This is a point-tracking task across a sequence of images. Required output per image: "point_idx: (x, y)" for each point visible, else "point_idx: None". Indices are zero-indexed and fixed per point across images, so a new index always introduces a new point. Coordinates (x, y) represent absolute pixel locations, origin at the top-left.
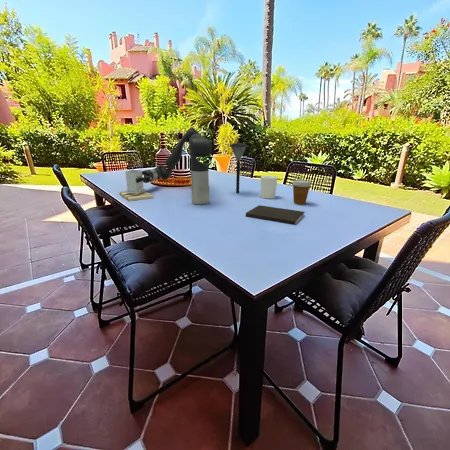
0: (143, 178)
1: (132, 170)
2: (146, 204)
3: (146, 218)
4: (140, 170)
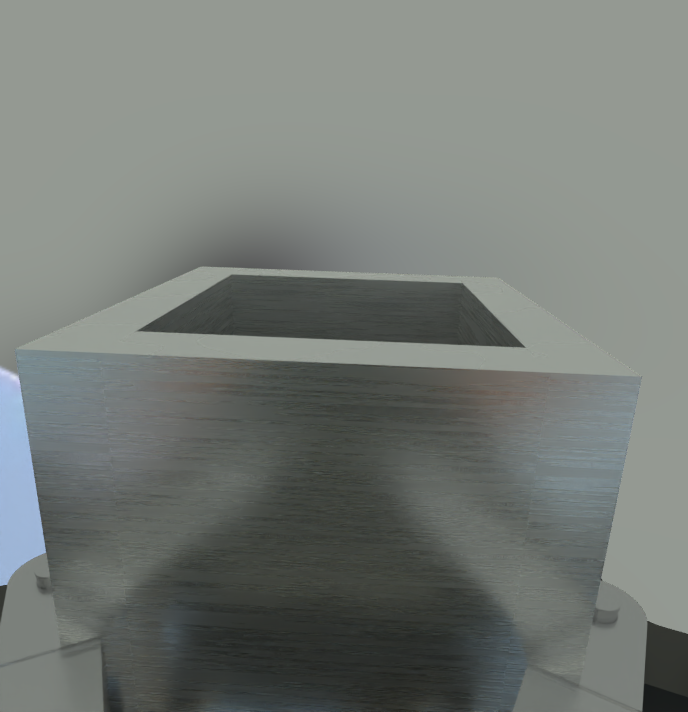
0: (5, 586)
1: (515, 349)
2: (12, 528)
3: (3, 377)
4: (88, 343)
